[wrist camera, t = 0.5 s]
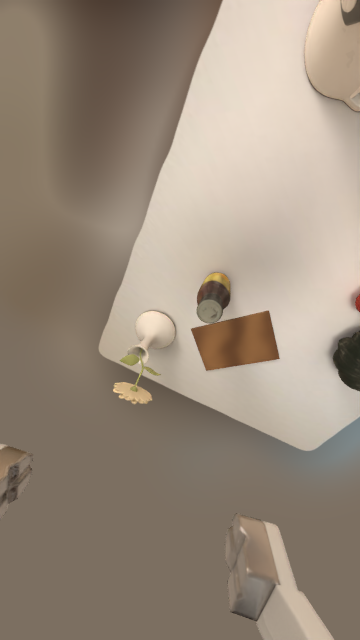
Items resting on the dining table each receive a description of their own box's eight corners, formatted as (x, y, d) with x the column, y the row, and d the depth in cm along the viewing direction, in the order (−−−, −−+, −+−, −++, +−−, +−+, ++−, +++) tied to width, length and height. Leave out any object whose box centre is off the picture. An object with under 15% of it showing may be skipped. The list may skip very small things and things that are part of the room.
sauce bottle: (232, 293, 50) (234, 330, 32) (207, 298, 52) (196, 336, 34) (227, 266, 48) (226, 290, 30) (201, 273, 50) (186, 299, 32)
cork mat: (268, 310, 50) (268, 310, 50) (279, 358, 54) (279, 358, 54) (191, 328, 56) (191, 329, 56) (206, 370, 61) (206, 370, 61)
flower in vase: (130, 327, 60) (73, 387, 38) (152, 300, 55) (101, 351, 33) (165, 355, 62) (129, 428, 40) (189, 331, 57) (164, 399, 34)
